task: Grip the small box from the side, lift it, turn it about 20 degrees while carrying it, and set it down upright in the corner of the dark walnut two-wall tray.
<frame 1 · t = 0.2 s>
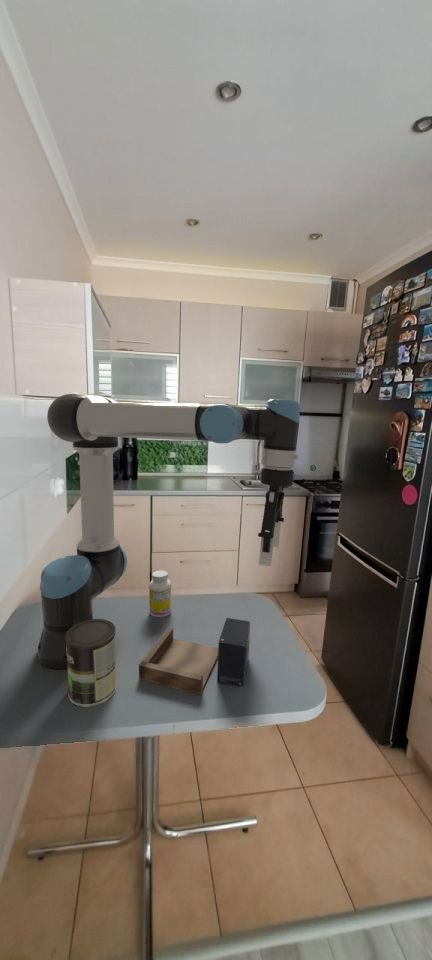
hand: (269, 555, 88), 27 cm above the table, tool pointing down, fingers open, 13 cm apart
corner tray: (182, 664, 90), on the table
small box: (233, 670, 88), on the table
coffee can: (93, 690, 81), on the table
supplement bottle: (160, 613, 113), on the table
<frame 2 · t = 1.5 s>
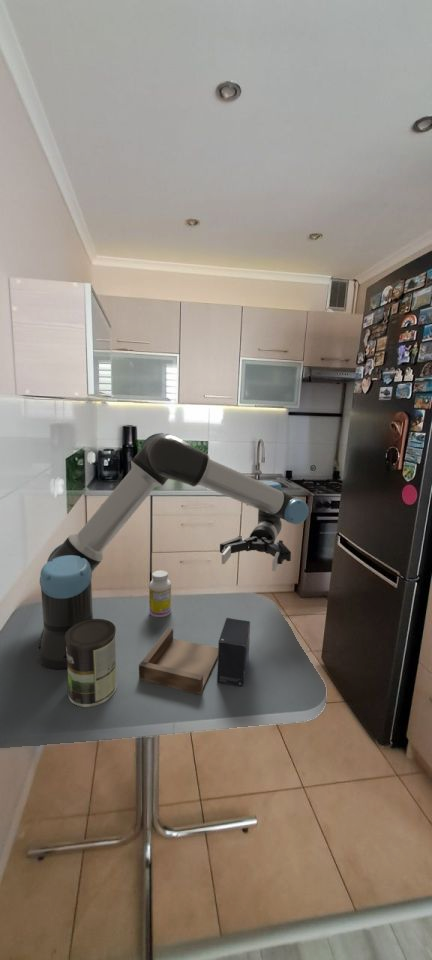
hand: (247, 562, 95), 23 cm above the table, tool horizontal, fingers open, 13 cm apart
nothing on the table moved.
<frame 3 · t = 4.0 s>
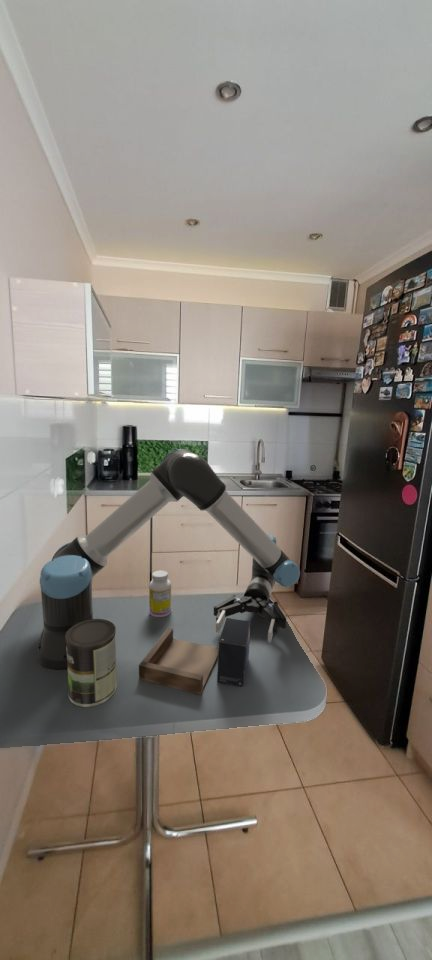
hand: (242, 632, 93), 6 cm above the table, tool horizontal, fingers open, 13 cm apart
nothing on the table moved.
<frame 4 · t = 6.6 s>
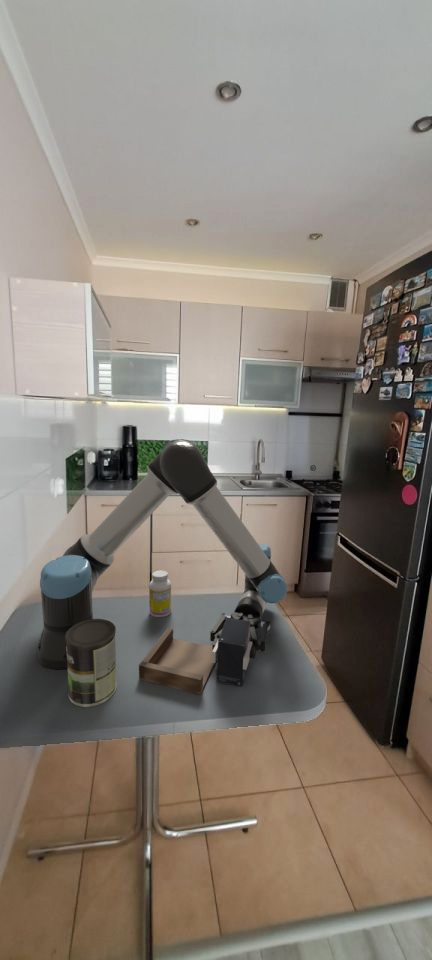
hand: (229, 660, 82), 6 cm above the table, tool horizontal, fingers closed on small box, 6 cm apart
small box: (233, 670, 88), on the table, touching gripper
everything else where it was.
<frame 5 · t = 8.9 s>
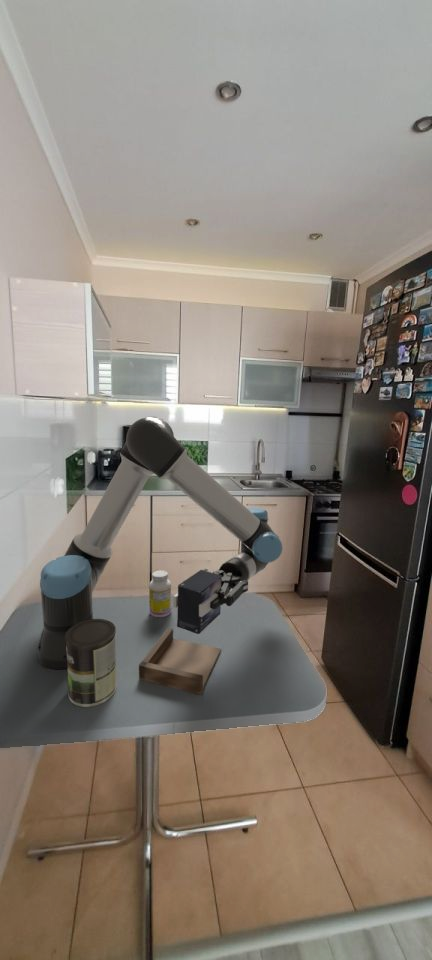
hand: (187, 606, 82), 18 cm above the table, tool horizontal, fingers closed on small box, 6 cm apart
small box: (199, 621, 88), point 12 cm above the table, touching gripper
everything else where it was.
when the fingers open (9 cm above the table, at t = 11.3 s): small box drops 2 cm, resting on corner tray.
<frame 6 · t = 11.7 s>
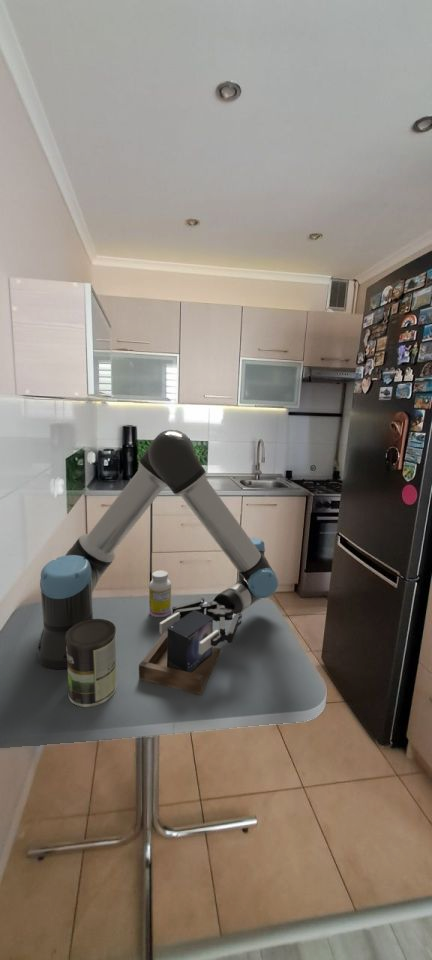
hand: (179, 638, 86), 9 cm above the table, tool horizontal, fingers open, 12 cm apart
small box: (190, 661, 90), resting on corner tray
everything else where it was.
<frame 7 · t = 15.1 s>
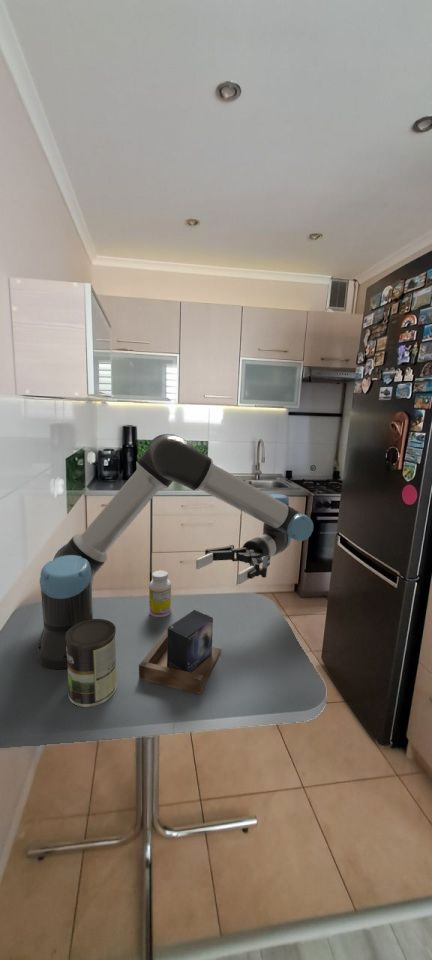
hand: (216, 571, 95), 20 cm above the table, tool horizontal, fingers open, 13 cm apart
nothing on the table moved.
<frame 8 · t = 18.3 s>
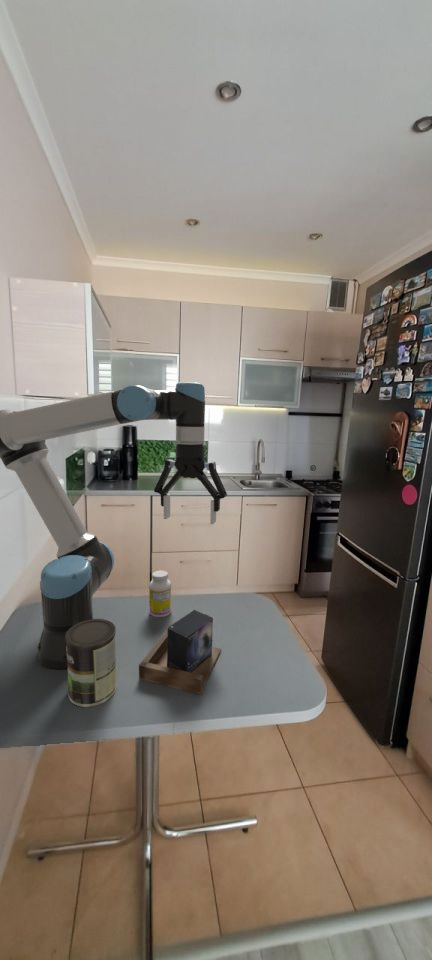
hand: (189, 520, 101), 32 cm above the table, tool pointing down, fingers open, 13 cm apart
nothing on the table moved.
at the end: small box inside the target area on the corner tray (0.2 cm from its centre), point 0.4 cm above the corner tray's base; small box tilted 0°; the gripper is holding nothing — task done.
